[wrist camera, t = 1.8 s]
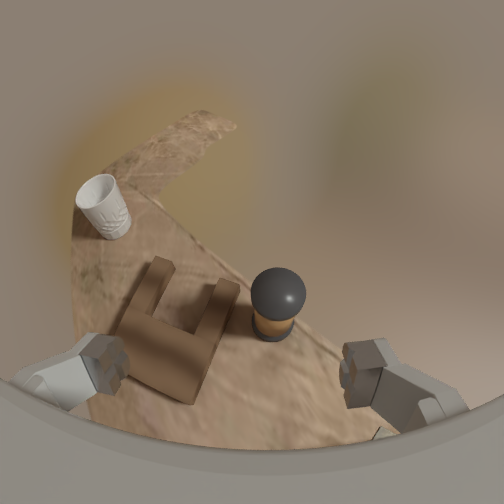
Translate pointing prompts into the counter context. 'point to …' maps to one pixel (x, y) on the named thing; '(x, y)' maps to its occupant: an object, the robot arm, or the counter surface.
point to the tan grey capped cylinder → (276, 303)
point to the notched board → (172, 336)
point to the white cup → (104, 206)
